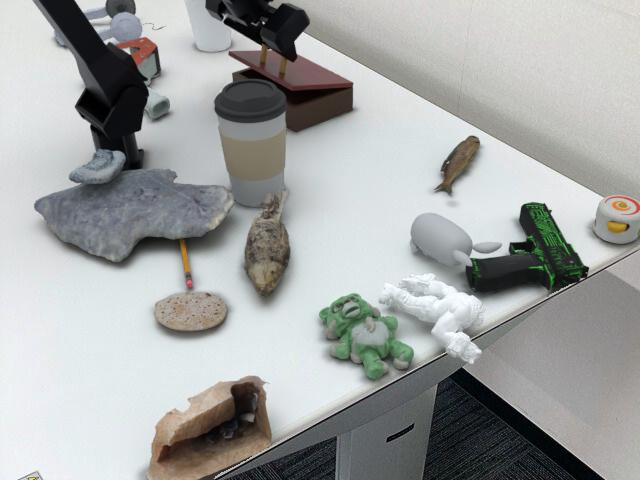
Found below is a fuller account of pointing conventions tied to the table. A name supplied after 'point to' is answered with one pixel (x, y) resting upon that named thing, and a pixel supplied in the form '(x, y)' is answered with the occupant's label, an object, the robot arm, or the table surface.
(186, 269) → the pencil
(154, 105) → the tape dispenser
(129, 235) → the flat rock
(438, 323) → the figurine
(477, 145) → the fish
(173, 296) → the flatbread
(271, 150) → the coffee cup
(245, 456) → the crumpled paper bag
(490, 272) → the handgun
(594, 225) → the roller toy
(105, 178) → the fossil
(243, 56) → the cover
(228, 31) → the foam cup
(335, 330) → the stuffed animal
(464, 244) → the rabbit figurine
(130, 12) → the headphones
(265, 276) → the bird model
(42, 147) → the table surface
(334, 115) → the hinged lid box
